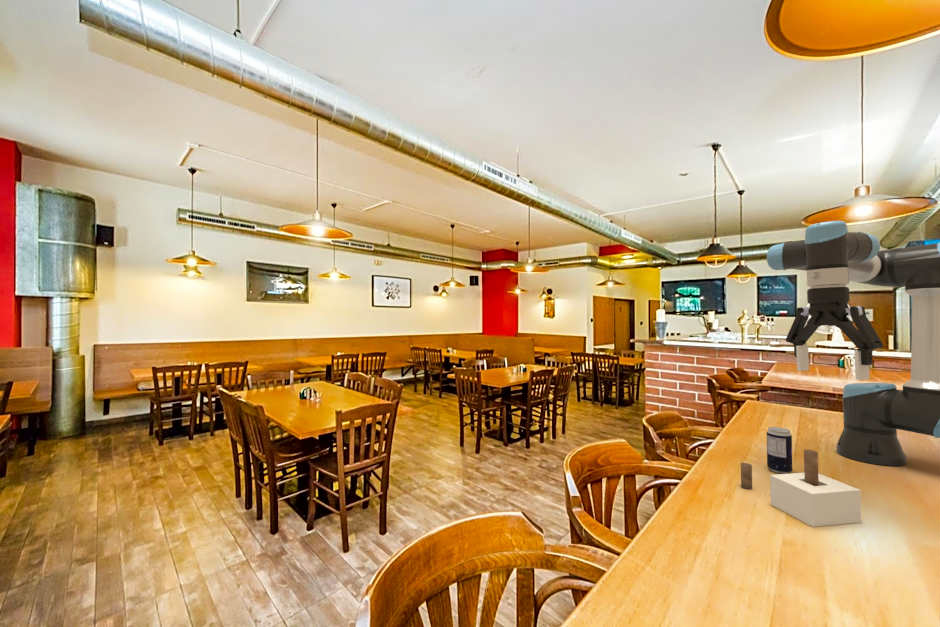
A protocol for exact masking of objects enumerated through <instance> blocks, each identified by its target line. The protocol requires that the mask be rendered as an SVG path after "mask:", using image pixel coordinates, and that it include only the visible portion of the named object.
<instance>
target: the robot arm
mask: <svg viewBox="0 0 940 627" xmlns="http://www.w3.org/2000/svg"><path fill="white" fill-rule="evenodd" d="M880 249H881V243H880V241H879V239H878V238H877V237H876V236H875V235H873V234H870V233H866V232H862V231H858V232H856V231H854V232H853V231H851V232H850V231H849V229H848V225H847V223H846V222H845V221H843V220H830V221H822V222H817V223H813V224H810V225H808V226H807V227H806V228H805V233H804V239H803V240H796V241H789V242H782V243H778V244H774V245H772V246H770V248H768V250H767V253H766V263H767V265H768V267H769V268H770V269H772V270H773V271H786V270H799V271H804V272H806V286H807V287H809V288H807V290H806V295H807V296H806V297H807V298H806V300H807V303H808V304H809V307H808V306H805V307H803V306H802V307H801V306H800V307H797V308H796V314H795V318H794V320H793V323H792V324H791V326H790V329H789V331H788V333H787V335H786V338H785V341H786V342H787V343H790V344H792V345H793V352H794V353H793V354H794V355H793V356H794V357H795V358H796V371H797V372H804V371H805V372H807V371H808V372H809V371H810V366H809V365H810V364H809V357H810V356H809V345H807V341H809V339H810V338H811V337H812V335H814V334H815V332H816V331H818V329H819V328H820V327H821V326H828V327H829V326H831V327H832V326H833V327H834V326H835V327H836V328H838V329H839V330H840V331H841V332H842V333H843V334H844V335H845V336H846V337H847V338H848V339H849V340H850V342H852V343H853V345H854V346H856V348H857V349H856V350H854V370H855V371H854V374H855V380H857V381H863V380H864V381H865V380H870V366H872V365H873V362H874V361H873V352H874V350H878V349H883V348H884V343H883V342H882V340H881V338H880V336H879V335H878V333H877V332H876V330H875V328H874V327H873V324H872V323H871V322H870V320H869V318H868V316H867V314H866V309H865V307H864V306H862V305H859V306H851V307H849V304H848V303H849V302H850V300H851V299H850V288H849V287H848V286H846V285H849V284H850V282H852V283H858V284H864V285H869V286H870V285H871V286H877V287H888V288H895V287H896V288H898V287H899V288H900V287H901V288H902V287H904V292H905V293H906V294H908V295H909V296H911V298H912V300H911V301H912V303H911V304H912V305H911V306H912V309H911V311H912V312H911V349H910V350H911V352H910V354H911V355H910V356H911V357H910V380H908V381H906V382H905V383H903V384H902V389H898V387H897V385H896V384H895V383H889V382H888V383H887V382H855V383H848V384H846V385H844V387H843V392H842V397H841V398H842V409H843V410H842V411H843V412H842V414H843V415H842V417H843V430H842V432H841V434H840V435H839V436H840V437H839V438H838V442H837V443H836V453H838V454H839V455H840V456H843V457H845V458H848V459H852V460H855V461H859V462H862V463H863V462H864V463H868V464H872V465H880V466H889V467H893V466H894V467H900V466H905V465H906V464H907V456H906V454H905V452H904V450H903V447H902V445H901V442H900V440H899V439H898V435H897V434H898V431H897V430H899V431H900V430H901V431H904V432H910V433H914V434H921V435H925V436H930V437H935V438H937V439H940V242H938V243H930V244H929V243H928V244H921V245H915V246H907V247H906V246H905V247H897V248H896V247H895V248H890V249H884V250H880ZM809 316H810V317H809ZM848 316H850V318H851V319H850V318H849V317H848Z"/></svg>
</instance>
